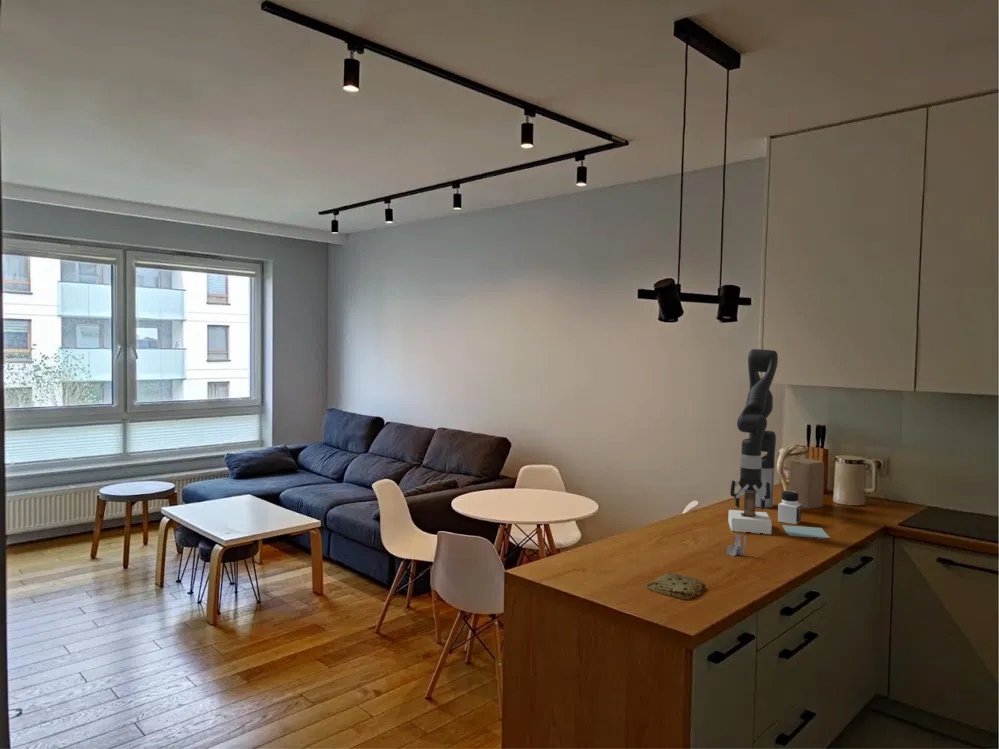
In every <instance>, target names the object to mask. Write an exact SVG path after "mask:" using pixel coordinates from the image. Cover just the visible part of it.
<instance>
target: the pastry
mask: <svg viewBox="0 0 999 749" xmlns="http://www.w3.org/2000/svg"><path fill="white" fill-rule="evenodd" d="M706 586H707V584H706V583H705V581H702V580H700V579H698V578H695V577H693V576H690V575H682V574H678V573H673V572H671V573H670V572H669V573H665V574H663V575H661V576H659V577H658V578H656V579H654V580H651V581H650V582H647V583H646V584H645V587H646V588H647V589H649V590H648V591H650V590H651V592H653V591H654V593H656V592H658V593H657V594H659V593H662V594H661V595H663V594H666V595H665V596H668V595H670V596H669V597H672V596H674V597H673V598H675V597H678V598H677V599H679V598H681V599H680V600H683V599H688V600H690V599H689V598H691V599H693V598H695V597H696V596H695V595H697V596H699V595H700V594H702V592H703V591H704V590H706ZM645 587H644V588H645ZM646 588H645V589H646ZM647 589H646V590H647ZM702 590H703V591H702ZM692 597H693V598H692Z"/></svg>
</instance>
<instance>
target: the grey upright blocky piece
mask: <svg viewBox="0 0 999 749" xmlns="http://www.w3.org/2000/svg"><path fill="white" fill-rule="evenodd" d="M746 547H747V537H746V536H743V546H742V545H741V534H740V535H739V534H734V544H732V545H727V546H726V555H727V556H730V555H731V557H735V556H737V555H740V556H744V555H745V554H744V551H745V548H746Z"/></svg>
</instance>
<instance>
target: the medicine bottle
mask: <svg viewBox="0 0 999 749" xmlns="http://www.w3.org/2000/svg"><path fill="white" fill-rule="evenodd" d="M777 510H778V511H777V522H780V523H785V524H792V525H798V524H799V523H800V522H801V521H802V507H801V504H800V503H798V493H796V492H794V491H790V490H784V491H782V492H781V502H780V503H778V506H777Z"/></svg>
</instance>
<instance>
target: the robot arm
mask: <svg viewBox="0 0 999 749" xmlns="http://www.w3.org/2000/svg"><path fill="white" fill-rule="evenodd" d="M778 358H779V356H778V353H777V351H775V350H773V349H772V350H771V349H759V348H755V349H751V350H749V352H748V356H747V367H748V368H747V369H748V378H749V391H748V393H747V398H746V402H745V405H744V408H743V410H742V411H741V413H740V414H739V416H738V417H737V418H738V419H737V420H736V425H737V429H738V431H739V432H742V433H747V434H749V435H748V437H749V438H744V439H742V441H741V456H740V469H739V470H740V473H739V480H734V479H732V480H731V481H730V483H731V484H730V492H729V495H730V496H731V497H733V498H734V505H735V507H736V508H737V509H740V497H741V496H742V495H743V494H745V491H746V489H751V490H756V492H757V493H756V500H755V508H756V507H757V508H760V510H761V511H763V510H764V509H768V508H773V507H774V497H775V496H774V495H775V494H774V493H775V454H776V444H777V437H776V433H775V431H773V430H767V425H768V420H767V418H768V417H769V416H770V414H771V413H772V412H773V407H774V406H773V403H774V402H773V401H774V397H773V393H772V392H771V390H770V388H771V385H772V383H773V380H774V377H775V374H776V371H777V368H778V362H779V359H778ZM759 373H765V374H764V375H763V376H762V377H761V376H760V374H759ZM762 452H766V454H765V455H763V456H762ZM738 485H739V487H740V488H739V490H738V491H737V492H735V488H736V487H737V486H738Z"/></svg>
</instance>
